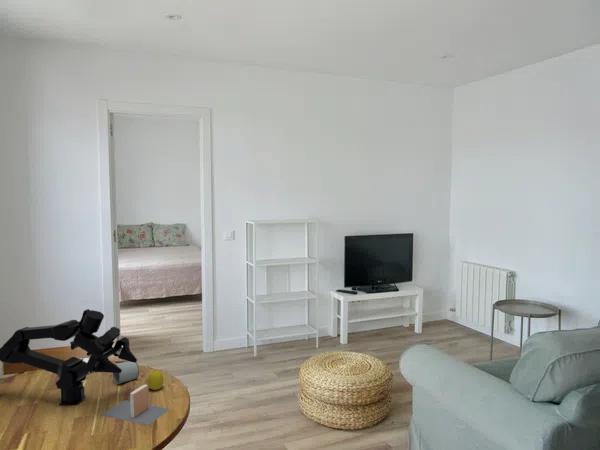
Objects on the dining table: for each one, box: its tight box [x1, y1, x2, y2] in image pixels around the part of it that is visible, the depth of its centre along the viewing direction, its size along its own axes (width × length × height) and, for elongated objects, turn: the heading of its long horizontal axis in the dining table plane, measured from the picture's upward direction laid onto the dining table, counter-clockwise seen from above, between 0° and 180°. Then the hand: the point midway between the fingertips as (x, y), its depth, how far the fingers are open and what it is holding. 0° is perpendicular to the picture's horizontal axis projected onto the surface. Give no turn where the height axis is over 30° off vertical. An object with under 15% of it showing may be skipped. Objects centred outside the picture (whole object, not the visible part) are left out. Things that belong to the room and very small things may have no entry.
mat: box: [100, 399, 171, 426], centre depth 147 cm, size 19×11×1 cm, turn 70°
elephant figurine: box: [79, 357, 91, 374], centre depth 182 cm, size 7×8×6 cm
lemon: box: [147, 369, 164, 391], centre depth 164 cm, size 6×6×8 cm
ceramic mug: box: [112, 361, 140, 385], centre depth 174 cm, size 11×8×8 cm
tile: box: [129, 384, 150, 418], centre depth 146 cm, size 2×7×8 cm, turn 160°
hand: (129, 366), depth 151 cm, fingers open, 9 cm apart
